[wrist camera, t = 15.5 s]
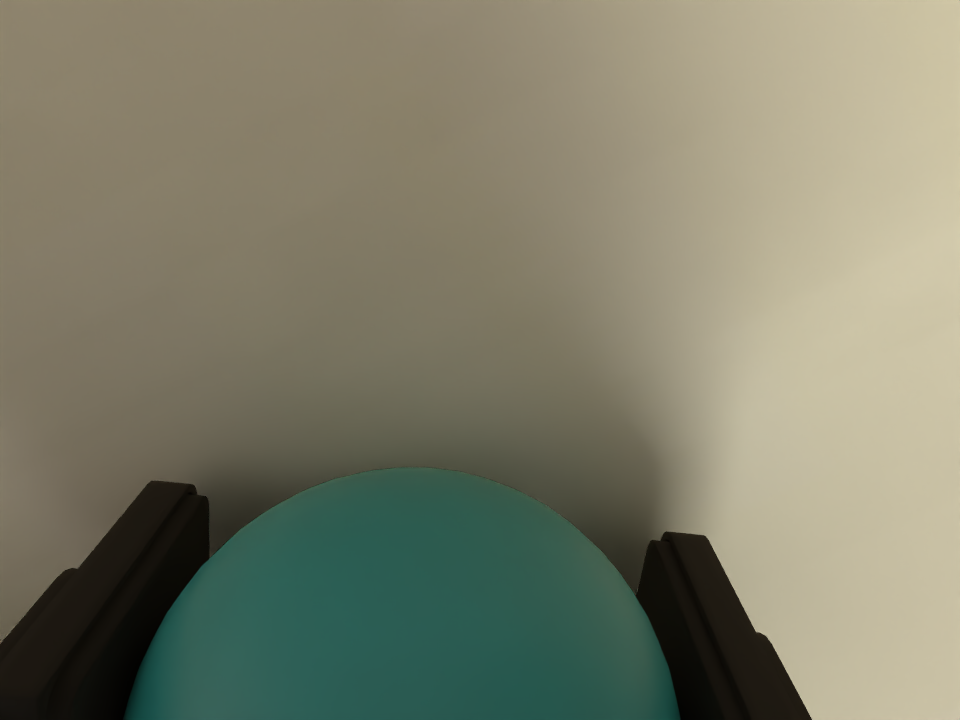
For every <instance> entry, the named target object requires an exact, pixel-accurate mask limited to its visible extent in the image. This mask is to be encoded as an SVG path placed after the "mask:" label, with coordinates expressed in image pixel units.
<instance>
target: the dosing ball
mask: <svg viewBox="0 0 960 720" xmlns="http://www.w3.org/2000/svg"><path fill="white" fill-rule="evenodd" d="M123 720H681V718H680V713H679V709H678V704H677V699H676V695H675V691H674V686H673V682H672V678H671V674H670V670H669V667H668V664H667V662H666V659H665V657H664V654H663V651H662V649H661V646H660V644H659V641H658V639H657V637H656V634H655V632H654V630H653V628H652V625H651V623H650V621H649V618H648V616H647V615H646V613H645V611H644V610H643V608H642V606H641V605H640V603H639V601H638V600H637V598H636V596H635V595H634V593H633V591H632V590H631V588H630V587H629V586H628V584H627V583H626V581H625V580H624V578H623V577H622V575H621V574H620V573H619V572H618V570H617V569H616V568H615V567H614V565H613V564H612V563H611V562H610V561H609V559H608V558H607V557H606V556H605V554H604V553H603V552H602V551H601V550H600V549H599V548H598V547H597V546H595V545H594V544H593V543H592V542H591V541H590V540H589V539H588V538H587V537H586V536H585V535H583V534H582V533H581V532H580V531H579V530H578V529H577V528H576V527H575V526H574V525H572V524H571V523H570V522H569V521H568V520H567V519H565V518H564V517H562V516H561V515H559V514H558V513H556V512H555V511H554V510H552V509H551V508H549V507H548V506H546V505H545V504H543V503H541V502H539V501H537V500H536V499H534V498H532V497H530V496H528V495H526V494H524V493H522V492H520V491H518V490H516V489H513V488H511V487H508V486H505V485H503V484H500V483H497V482H495V481H492V480H489V479H487V478H484V477H480V476H476V475H472V474H468V473H464V472H459V471H454V470H446V469H438V468H429V467H398V468H389V469H380V470H371V471H366V472H362V473H357V474H353V475H349V476H345V477H340V478H336V479H333V480H330V481H327V482H325V483H322V484H319V485H317V486H314V487H311V488H308V489H306V490H304V491H302V492H300V493H298V494H296V495H294V496H292V497H290V498H289V499H287V500H285V501H283V502H281V503H279V504H277V505H276V506H274V507H272V508H271V509H269V510H267V511H266V512H264V513H263V514H261V515H260V516H258V517H257V518H256V519H254V520H253V521H251V522H250V523H249V524H247V525H246V526H244V527H243V528H242V529H240V530H239V531H238V532H237V533H236V534H235V535H234V536H233V537H232V538H231V539H229V540H228V541H227V542H226V543H225V544H224V545H223V546H222V547H221V548H220V549H219V550H218V551H217V552H216V553H215V554H214V555H213V556H212V557H211V558H210V559H209V560H208V561H206V562H205V563H204V564H203V565H202V566H201V567H200V569H199V570H198V571H197V573H196V574H195V575H194V576H193V578H192V579H191V580H190V582H189V583H188V584H187V585H186V587H185V588H184V589H183V591H182V592H181V593H180V595H179V596H178V598H177V599H176V601H175V602H174V603H173V605H172V606H171V608H170V609H169V610H168V612H167V613H166V615H165V617H164V619H163V621H162V623H161V624H160V626H159V628H158V630H157V632H156V634H155V635H154V637H153V639H152V641H151V643H150V645H149V648H148V650H147V652H146V654H145V656H144V658H143V660H142V662H141V664H140V666H139V669H138V672H137V675H136V678H135V681H134V684H133V687H132V690H131V693H130V696H129V700H128V703H127V707H126V710H125V714H124V717H123Z"/></svg>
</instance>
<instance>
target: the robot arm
mask: <svg viewBox="0 0 960 720" xmlns="http://www.w3.org/2000/svg"><path fill="white" fill-rule="evenodd" d="M208 560H209V501H208V498H207V497H206V496H201V495H197V491H196V488H195V486H194V485H193V484H185V483H174V482H164V481H151V482H150V483H148V484H147V485H146V487H145V488H144V489H143V490H142V492H141V493H140V494H139V495H138V496H137V498H136V499H135V500H134V501H133V502H132V504H131V505H130V506H129V507H128V509H127V510H126V511H125V512H124V513H123V515H122V516H121V517H120V518H119V519H118V521H117V522H116V523H115V524H114V526H113V527H112V528H111V529H110V530H109V532H108V533H107V534H106V535H105V536H104V538H103V539H102V540H101V541H100V543H99V544H98V545H97V546H96V547H95V549H94V550H93V551H92V552H91V553H90V555H89V556H88V557H87V558H86V560H85V561H84V562H83V563H82V564H81V566H80V567H79V568H78V569H75V568H71V569H68V570H65V571H64V572H63V573H62V574H60V575H59V576H58V577H57V578H56V579H55V581H54V582H53V583H52V584H51V585H50V586H49V588H48V589H47V590H46V591H45V592H44V593H43V595H42V596H41V597H40V598H39V599H38V601H37V602H36V603H35V604H34V605H33V606H32V608H31V609H30V610H29V611H28V612H27V613H26V615H25V616H24V617H23V618H22V619H21V621H20V622H19V623H18V624H17V625H16V626H15V628H14V629H13V630H12V631H11V632H10V633H9V635H8V636H7V637H6V638H5V639H4V641H3V642H2V643H1V644H0V720H123V717H124V714H125V710H126V707H127V703H128V700H129V696H130V693H131V690H132V687H133V684H134V681H135V678H136V675H137V672H138V669H139V666H140V664H141V662H142V660H143V658H144V656H145V654H146V652H147V650H148V648H149V645H150V643H151V641H152V639H153V637H154V635H155V634H156V632H157V630H158V628H159V626H160V624H161V623H162V621H163V619H164V617H165V615H166V613H167V612H168V610H169V609H170V608H171V606H172V605H173V603H174V602H175V601H176V599H177V598H178V596H179V595H180V593H181V592H182V591H183V589H184V588H185V587H186V585H187V584H188V583H189V582H190V580H191V579H192V578H193V576H194V575H195V574H196V573H197V571H198V570H199V569H200V567H201V566H202V565H203V564H204V563H205V562H206V561H208ZM636 598H637V600H638V601H639V603H640V605H641V606H642V608H643V610H644V611H645V613H646V615H647V616H648V618H649V621H650V623H651V625H652V628H653V630H654V632H655V634H656V637H657V639H658V641H659V644H660V646H661V649H662V651H663V654H664V657H665V659H666V662H667V664H668V667H669V670H670V674H671V678H672V682H673V686H674V691H675V695H676V699H677V704H678V709H679V713H680V718H681V720H812V719H811V717H810V715H809V713H808V711H807V709H806V707H805V705H804V704H803V702H802V700H801V698H800V696H799V694H798V692H797V690H796V689H795V687H794V685H793V683H792V681H791V679H790V677H789V675H788V674H787V672H786V670H785V668H784V666H783V664H782V662H781V660H780V659H779V657H778V655H777V653H776V651H775V649H774V647H773V645H772V644H771V642H770V641H769V640H768V638H767V637H766V636H765V635H763V634H761V633H757V632H756V631H755V629H754V628H753V626H752V624H751V622H750V620H749V618H748V616H747V614H746V612H745V610H744V608H743V606H742V604H741V602H740V600H739V598H738V597H737V595H736V593H735V591H734V589H733V587H732V585H731V583H730V581H729V579H728V577H727V575H726V573H725V571H724V569H723V567H722V565H721V564H720V562H719V560H718V558H717V556H716V554H715V552H714V550H713V548H712V546H711V544H710V542H709V540H708V539H707V538H706V536H704V535H696V534H686V533H676V532H665V533H664V534H663V536H662V537H661V540H660V541H656V540H652V541H650V543H649V544H648V547H647V551H646V555H645V560H644V564H643V569H642V573H641V577H640V582H639V586H638V591H637V595H636Z"/></svg>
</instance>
